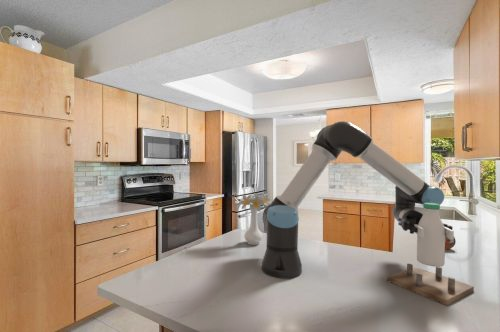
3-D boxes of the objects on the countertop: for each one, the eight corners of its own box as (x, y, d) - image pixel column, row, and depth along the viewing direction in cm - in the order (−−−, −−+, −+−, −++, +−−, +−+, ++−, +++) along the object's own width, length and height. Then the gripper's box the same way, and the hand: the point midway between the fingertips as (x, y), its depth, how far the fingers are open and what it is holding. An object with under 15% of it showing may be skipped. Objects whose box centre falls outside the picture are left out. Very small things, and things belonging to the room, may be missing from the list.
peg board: (387, 280, 92) (387, 266, 92) (415, 270, 101) (415, 257, 101) (446, 305, 77) (447, 288, 76) (473, 291, 86) (474, 275, 86)
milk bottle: (445, 269, 83) (447, 206, 83) (416, 264, 88) (417, 203, 87) (443, 261, 90) (444, 203, 90) (416, 257, 94) (417, 201, 94)
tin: (419, 246, 132) (419, 229, 132) (417, 244, 135) (418, 228, 135) (455, 250, 127) (456, 233, 127) (453, 248, 130) (453, 231, 130)
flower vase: (232, 240, 137) (233, 191, 136) (267, 239, 140) (267, 191, 140) (235, 248, 124) (236, 195, 123) (273, 246, 127) (274, 194, 127)
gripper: (441, 230, 104) (474, 248, 81) (384, 226, 109) (401, 243, 86) (441, 211, 103) (475, 224, 81) (384, 208, 108) (401, 220, 86)
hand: (437, 234), depth 84 cm, fingers closed on milk bottle, 7 cm apart
